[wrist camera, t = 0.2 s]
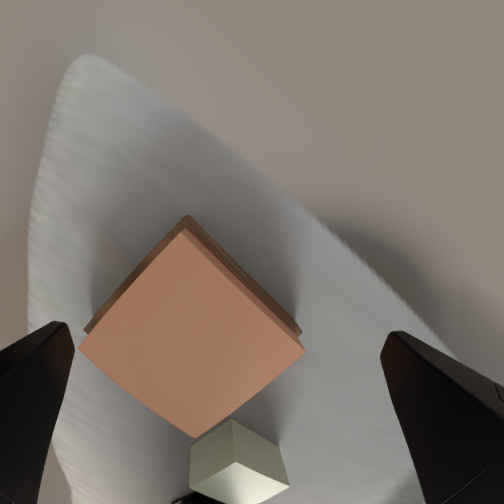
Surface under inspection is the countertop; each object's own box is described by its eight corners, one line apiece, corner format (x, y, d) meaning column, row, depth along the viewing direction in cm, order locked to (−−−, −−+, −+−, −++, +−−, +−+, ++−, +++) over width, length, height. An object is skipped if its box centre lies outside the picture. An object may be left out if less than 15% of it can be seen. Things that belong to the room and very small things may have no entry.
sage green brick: (239, 470, 27) (244, 510, 21) (191, 445, 25) (188, 487, 19) (278, 446, 26) (290, 486, 21) (231, 417, 25) (235, 461, 19)
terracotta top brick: (196, 415, 22) (195, 438, 19) (92, 331, 20) (77, 348, 17) (294, 333, 22) (305, 351, 19) (185, 227, 19) (180, 232, 16)
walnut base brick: (197, 400, 25) (195, 420, 22) (96, 316, 23) (83, 329, 20) (293, 317, 25) (302, 332, 22) (189, 214, 22) (184, 216, 19)
